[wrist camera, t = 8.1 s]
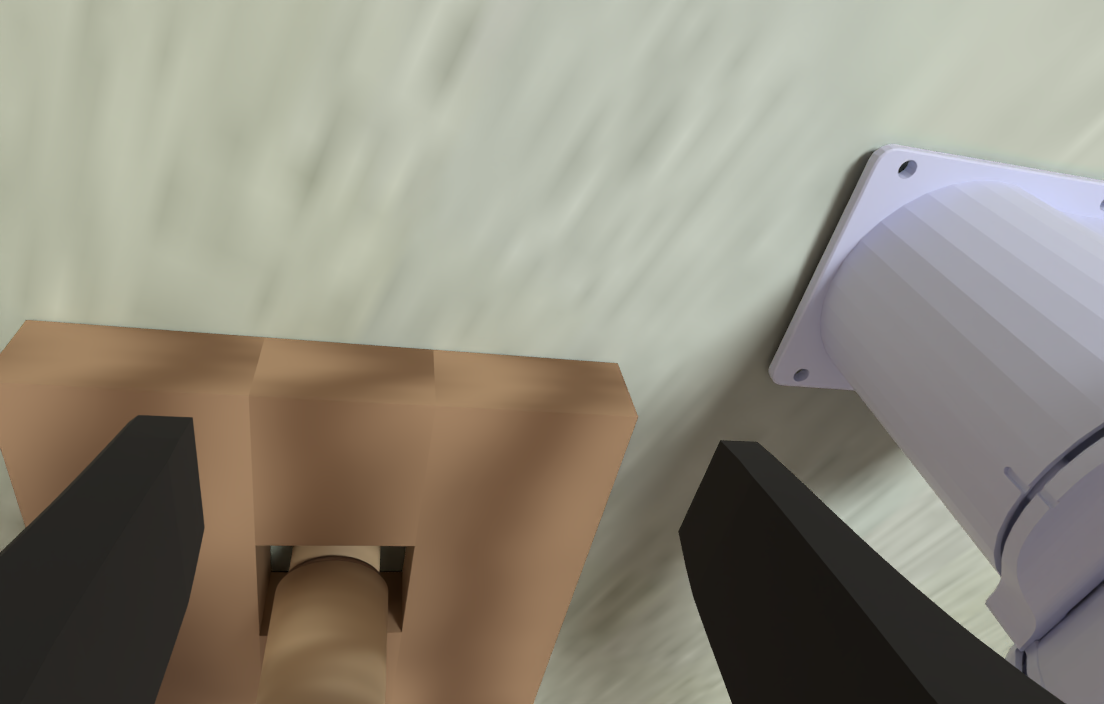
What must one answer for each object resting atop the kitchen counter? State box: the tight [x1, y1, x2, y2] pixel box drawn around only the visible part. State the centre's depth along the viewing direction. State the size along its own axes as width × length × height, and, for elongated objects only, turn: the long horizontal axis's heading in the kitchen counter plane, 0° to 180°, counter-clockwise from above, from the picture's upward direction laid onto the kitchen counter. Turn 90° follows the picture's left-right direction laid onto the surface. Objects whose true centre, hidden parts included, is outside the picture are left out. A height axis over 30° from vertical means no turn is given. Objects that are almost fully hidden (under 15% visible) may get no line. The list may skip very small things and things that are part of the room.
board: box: [0, 320, 638, 704], centre depth 24 cm, size 16×16×2 cm
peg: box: [256, 546, 388, 704], centre depth 21 cm, size 3×3×8 cm
